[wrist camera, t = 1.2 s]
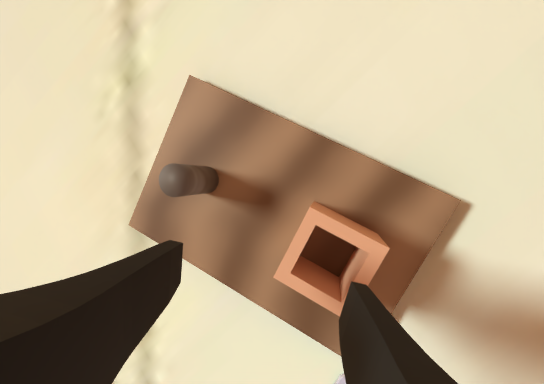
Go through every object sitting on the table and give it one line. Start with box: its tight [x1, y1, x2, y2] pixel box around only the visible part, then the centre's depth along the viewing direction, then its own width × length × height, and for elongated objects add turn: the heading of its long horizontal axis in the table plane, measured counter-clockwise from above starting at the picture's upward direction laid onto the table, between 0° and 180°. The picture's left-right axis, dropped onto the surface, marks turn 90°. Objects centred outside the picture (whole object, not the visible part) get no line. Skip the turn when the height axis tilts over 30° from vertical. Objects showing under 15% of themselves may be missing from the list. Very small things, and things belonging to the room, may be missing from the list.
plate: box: [129, 75, 461, 356], centre depth 18 cm, size 22×14×6 cm, turn 64°
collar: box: [273, 201, 390, 317], centre depth 17 cm, size 5×5×4 cm
